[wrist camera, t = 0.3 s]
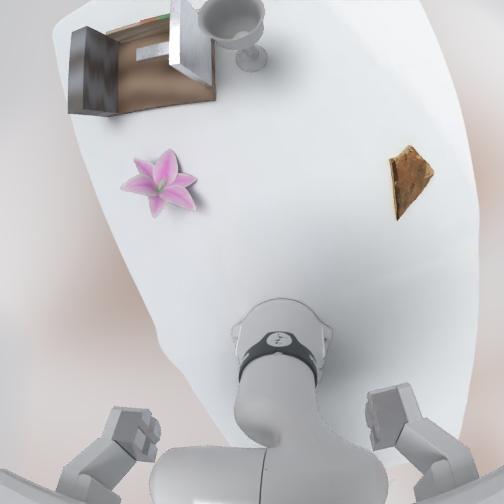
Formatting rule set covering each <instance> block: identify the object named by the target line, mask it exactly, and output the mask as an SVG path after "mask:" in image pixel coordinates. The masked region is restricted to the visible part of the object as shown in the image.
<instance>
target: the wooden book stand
mask: <svg viewBox="0 0 504 504" xmlns="http://www.w3.org/2000/svg"><path fill="white" fill-rule="evenodd" d="M195 11H196V12H197V13H198V14H199V11H200V9H197V10H195ZM169 39H170V14H166V15H161V16H157V17H153V18H149V19H145V20H141V21H140V22H138V23H134V24H131V25H127V26H124V27H121V28H117V29H114V30H111V31H108V32H106V35H104V34H102V33H100V32H98V31H96V30H94V29H92V28H90V27H88V26H86V27H83V28H81V29H78V30H76V31H74V32H72V37H71V47H70V60H69V78H68V114H81V115H93V116H103V117H111V116H116V115H121V114H126V113H131V112H136V111H142V110H147V109H153V108H160V107H166V106H173V105H180V104H188V103H197V102H206V101H215V66H214V39H213V38H211V62H212V87H203V86H202V85H200V84H199V83H197V82H196V81H194V80H192V79H191V78H189V77H188V76H186V75H185V74H183V73H182V72H180V71H179V70H177V69H175V68H174V67H172V66H171V65H169V58H168V59H163V60H158V61H153V62H148V63H144V64H142V63H140V62H137V61H136V50H137V49H138V48H142V47H146V46H150V45H154V44H159V43H164V42H169Z"/></svg>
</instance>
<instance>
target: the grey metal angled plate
mask: <svg viewBox="0 0 504 504" xmlns="http://www.w3.org/2000/svg"><path fill="white" fill-rule="evenodd" d="M197 18H198V13H197V12H196V11H195V9H194V8H193V7H192V6H191V4H190V3H189V2H188V1H187V0H171V6H170V39H169V42H164V43H159V44H154V45H150V46H146V47H142V48H138V49H137V50H136V61H137V62H140V63H142V64H144V63H148V62H153V61H158V60H163V59H168V58H169V65H171V66H172V67H174V68H175V69H177V70H179V71H180V72H182V73H183V74H185V75H186V76H188V77H189V78H191V79H192V80H194V81H196V82H197V83H199V84H200V85H202V86H203V87H212V62H211V38H210V37H208V36H207V35H205V34H204V33H203V32H202V31H201V29H200V28H199V26H198V19H197Z"/></svg>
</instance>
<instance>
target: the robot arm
mask: <svg viewBox="0 0 504 504" xmlns="http://www.w3.org/2000/svg"><path fill="white" fill-rule="evenodd" d="M231 335H232V339H233V342H234V345H235V348H236V350H235V356H237V358H238V361H239V364H240V368H239V383H240V384H239V389H238V393H237V397H236V402H235V406H234V416H235V420H236V422H237V424H238V426H239V427H240V429H241V430H242V431H243V432H244V433H245V434H246V435H247V436H248V437H249V438H250V439H252V440H253V441H255V442H256V443H258V444H260V445H263V446H265V447H267V448H239V447H222V446H194V447H181V448H171V449H169V450H168V451H166V452H165V453H164V454H163V455H162V456H161V457H160V458H159V459H158V460H157V462H156V463H155V465H154V467H153V469H152V472H151V475H150V480H149V489H150V495H151V498H152V501H153V503H154V504H384V503H385V501H386V498H387V494H388V477H387V473H386V470H385V468H384V466H383V464H382V463H381V461H380V460H379V459H378V457H377V456H375V455H374V454H373V453H372V452H371V451H369V450H368V449H365V448H362V447H359V446H356V445H354V444H352V443H350V442H348V441H346V440H345V439H343V438H342V437H340V436H339V435H338V434H336V433H335V432H334V431H333V430H332V429H331V428H330V427H329V426H328V425H327V424H326V423H325V421H324V420H323V418H322V417H321V415H320V412H319V409H318V404H317V398H316V391H315V388H316V385H317V382H320V381H321V379H322V371H321V370H320V369H321V368H323V367H324V361H323V360H324V358H325V355H326V352H327V349H328V347H329V344H330V341H331V338H332V330H331V329H330V328H329V327H328V326H326V325H325V324H323V323H321V322H320V321H319V320H318V318H317V317H316V315H315V314H314V313H313V312H312V311H311V310H310V309H309V308H308V307H306V306H305V305H303V304H301V303H299V302H296V301H293V300H288V299H275V300H270V301H267V302H264V303H262V304H260V305H258V306H257V307H255V308H254V309H253V310H252V311H251V312H250V313H249V314H248V316H247V317H246V318H245V320H244V321H242V322H240V323H238V324H237V325H235V326H234V327H233V328H232V330H231ZM324 338H326V339H325V340H324ZM367 398H368V402H367V403H366V408H365V413H366V421H367V426H368V427H369V428H371V433H370V439H371V444H372V448H373V451H375V450H380V449H384V448H389V447H393V446H395V448H396V449H397V450H398V451H399V452H400V453H401V454H402V455H403V456H405V457H406V458H407V459H408V460H409V461H410V462H411V463H412V464H413V465H414V466H415V467H416V468H417V469H418V470H419V471H420V472H422V473H423V474H424V475H423V476H422V478H421V479H420V480H419V481H418V482H417V484H416V485H415V486H414V493H415V497H416V502H417V503H413V504H504V466H502V467H500V468H498V469H496V470H494V471H492V472H490V473H488V474H486V475H484V476H482V477H480V478H479V475H478V472H477V469H476V466H475V463H474V460H473V457H472V454H471V451H470V449H469V448H468V447H467V446H465V445H464V444H463V443H461V442H460V441H458V440H457V439H455V438H454V437H453V436H451V435H450V434H448V433H447V432H446V431H444V430H443V429H442V428H440V427H439V426H437V425H436V424H435V423H433V422H432V421H430V420H429V419H428V418H422V415H421V412H420V409H419V406H418V404H417V401H416V398H415V396H414V393H413V390H412V388H411V385H410V384H409V383H403V384H400V385H396V386H391V387H387V388H382V389H378V390H374V391H370V392H368V395H367ZM151 415H152V413H151V412H150V410H149V409H141V408H127V407H116V406H114V407H113V408H112V409H111V412H110V415H109V417H108V420H107V423H106V426H105V428H104V431H103V434H102V437H101V438H98V439H97V440H95V441H94V442H93V443H92V444H91V445H90V446H88V447H87V448H86V449H85V450H84V451H82V452H81V453H80V454H79V455H78V456H77V457H75V458H74V459H73V460H72V461H71V462H69V463H68V464H67V465H66V466H65V467H64V468H63V471H62V474H61V477H60V479H59V482H58V485H57V488H56V491H52V490H50V489H47V488H45V487H42V486H40V485H37V484H35V483H33V482H31V481H29V480H27V479H24V478H22V477H20V476H18V475H16V474H14V473H12V472H10V471H8V470H5V469H0V504H120V502H121V498H120V496H119V495H117V494H115V493H114V492H112V489H113V488H114V487H115V486H116V485H117V484H118V483H119V482H120V480H121V479H122V478H123V477H124V476H125V475H126V474H127V472H128V471H129V470H130V469H131V468H132V466H134V464H135V463H136V461H142V462H153V463H154V462H155V458H156V454H157V447H156V445H155V444H156V443H157V442H158V441H159V440H160V436H161V427H160V424H159V422H158V421H157V419H155V418H153V417H151Z"/></svg>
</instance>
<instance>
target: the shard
mask: <svg viewBox="0 0 504 504" xmlns="http://www.w3.org/2000/svg"><path fill="white" fill-rule="evenodd" d="M389 160H390V165H391V170H392V178H393V191H394V206H395V210H396V217H397V220H398V219H399V218H400V217H401V216H402V214H403V213H404V212H405V211H406V209H407V208H408V207H409V206H410V204H411V203H412V202H413V201H414V200H415V199H416V198H417V197H418V195H419V194H420V193H421V192H422V191H423V189H424V188H425V187H426V185H427V184H428V182H429V180H430V178H431V177H432V176H433V175H434V171H433V169H432V168H431V167H430V165H429V164H428V163H427V162H426V161H425V160H424V159H423V158H422V157H421V156H420V155H419V154H418V153H417V152H416V150H415V149H414V148H413V147H412V146H410V145H409V146H408V147H407V148H406V150H405V151H404V152H403V153H402V154H401V155H399V156H398V157H395V158H391V159H389Z"/></svg>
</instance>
